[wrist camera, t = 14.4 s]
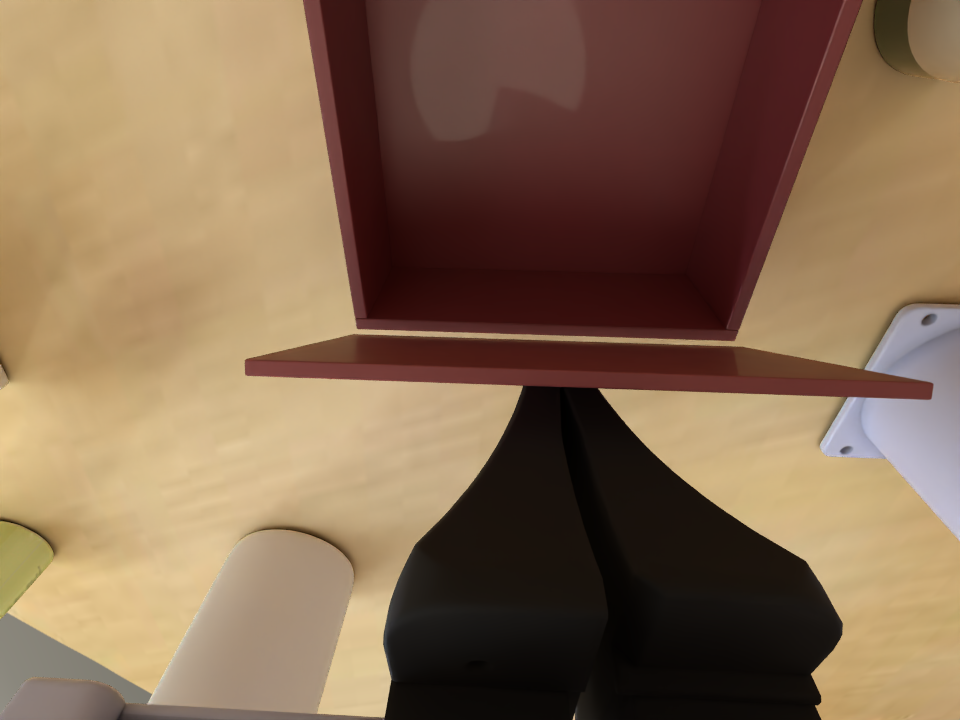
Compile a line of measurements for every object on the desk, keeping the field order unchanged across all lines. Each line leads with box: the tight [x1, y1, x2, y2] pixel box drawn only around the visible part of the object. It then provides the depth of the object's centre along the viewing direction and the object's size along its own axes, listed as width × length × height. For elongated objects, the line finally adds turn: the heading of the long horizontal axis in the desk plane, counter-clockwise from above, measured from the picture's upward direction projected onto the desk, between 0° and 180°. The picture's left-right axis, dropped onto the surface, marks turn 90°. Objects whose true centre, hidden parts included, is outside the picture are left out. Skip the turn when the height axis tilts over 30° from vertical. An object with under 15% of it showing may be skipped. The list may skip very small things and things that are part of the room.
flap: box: [245, 334, 934, 400], centre depth 11 cm, size 12×6×1 cm
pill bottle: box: [148, 529, 354, 714], centre depth 25 cm, size 8×8×15 cm
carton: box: [303, 0, 863, 341], centre depth 13 cm, size 12×13×4 cm
